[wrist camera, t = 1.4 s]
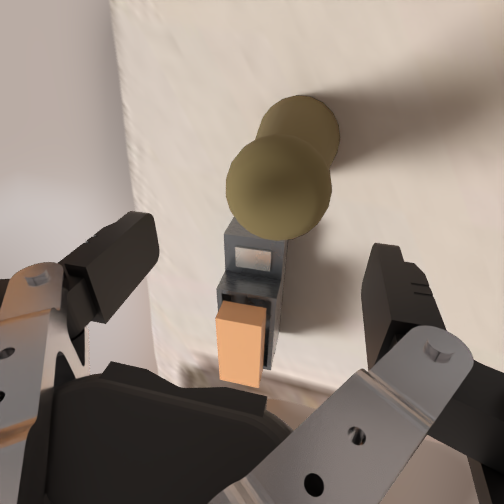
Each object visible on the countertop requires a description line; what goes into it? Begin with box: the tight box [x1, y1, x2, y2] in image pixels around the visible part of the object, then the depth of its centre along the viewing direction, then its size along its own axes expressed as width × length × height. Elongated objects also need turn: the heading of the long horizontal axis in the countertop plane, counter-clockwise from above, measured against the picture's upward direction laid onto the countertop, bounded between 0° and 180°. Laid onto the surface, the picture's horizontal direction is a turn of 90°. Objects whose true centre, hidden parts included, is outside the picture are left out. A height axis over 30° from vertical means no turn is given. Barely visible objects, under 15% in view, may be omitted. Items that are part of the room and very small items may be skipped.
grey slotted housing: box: [217, 217, 288, 370], centre depth 29 cm, size 14×5×6 cm, turn 0°
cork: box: [226, 95, 340, 241], centre depth 18 cm, size 6×6×11 cm
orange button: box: [215, 301, 266, 388], centre depth 26 cm, size 8×4×2 cm, turn 0°
